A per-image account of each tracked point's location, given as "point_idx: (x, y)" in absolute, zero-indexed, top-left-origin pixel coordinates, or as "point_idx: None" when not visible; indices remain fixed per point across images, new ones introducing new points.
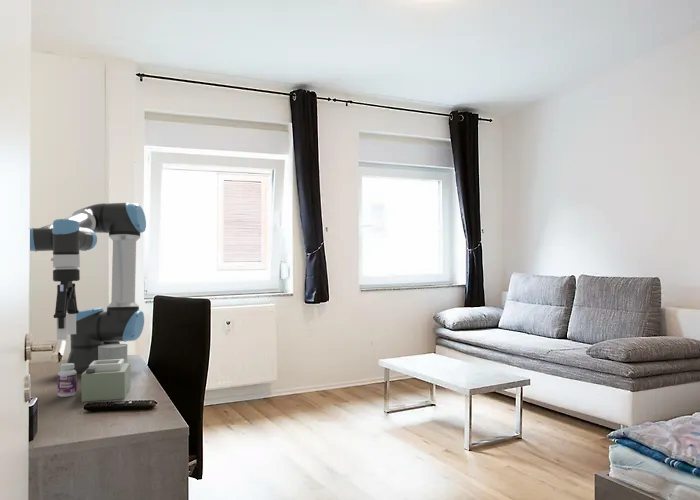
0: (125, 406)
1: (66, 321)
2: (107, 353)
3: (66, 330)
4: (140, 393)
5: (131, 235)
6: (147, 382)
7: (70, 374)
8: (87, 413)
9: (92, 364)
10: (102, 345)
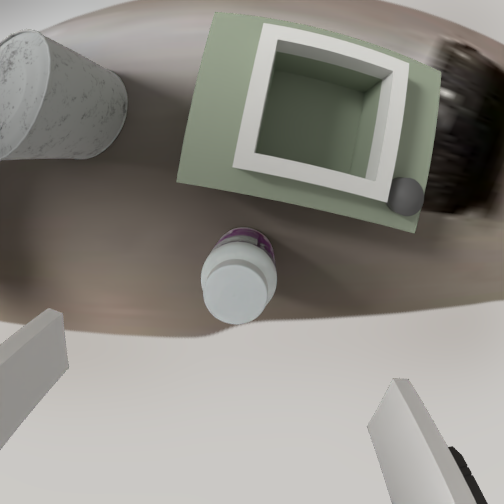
0: (480, 118)
1: (463, 479)
2: (57, 110)
3: (434, 423)
4: None
5: None
6: (170, 8)
7: (274, 268)
8: (497, 212)
9: (369, 183)
10: None
